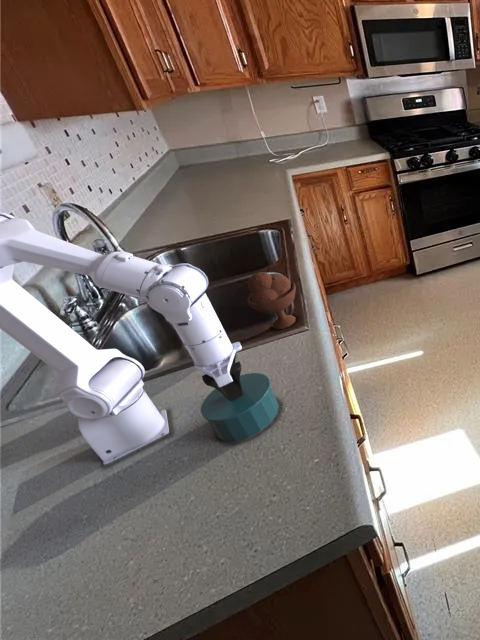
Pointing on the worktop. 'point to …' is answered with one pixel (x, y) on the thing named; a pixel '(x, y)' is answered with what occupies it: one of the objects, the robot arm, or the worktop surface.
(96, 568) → the worktop surface
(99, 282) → the robot arm
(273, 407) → the pot
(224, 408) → the lid
